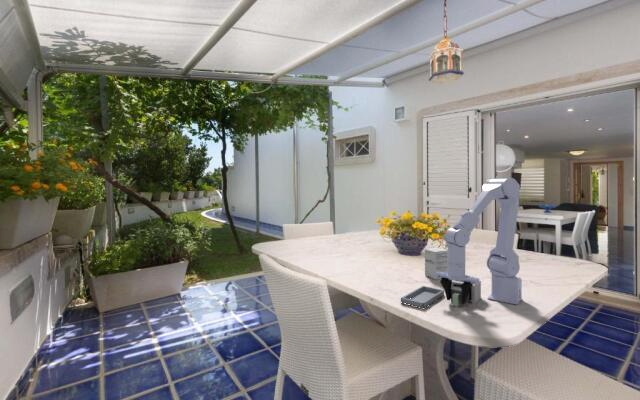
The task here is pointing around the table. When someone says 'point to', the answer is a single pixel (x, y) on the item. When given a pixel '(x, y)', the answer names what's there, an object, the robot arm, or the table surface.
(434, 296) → the tray
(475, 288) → the sleeve
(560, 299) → the table surface
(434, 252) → the supplement box
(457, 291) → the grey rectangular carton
